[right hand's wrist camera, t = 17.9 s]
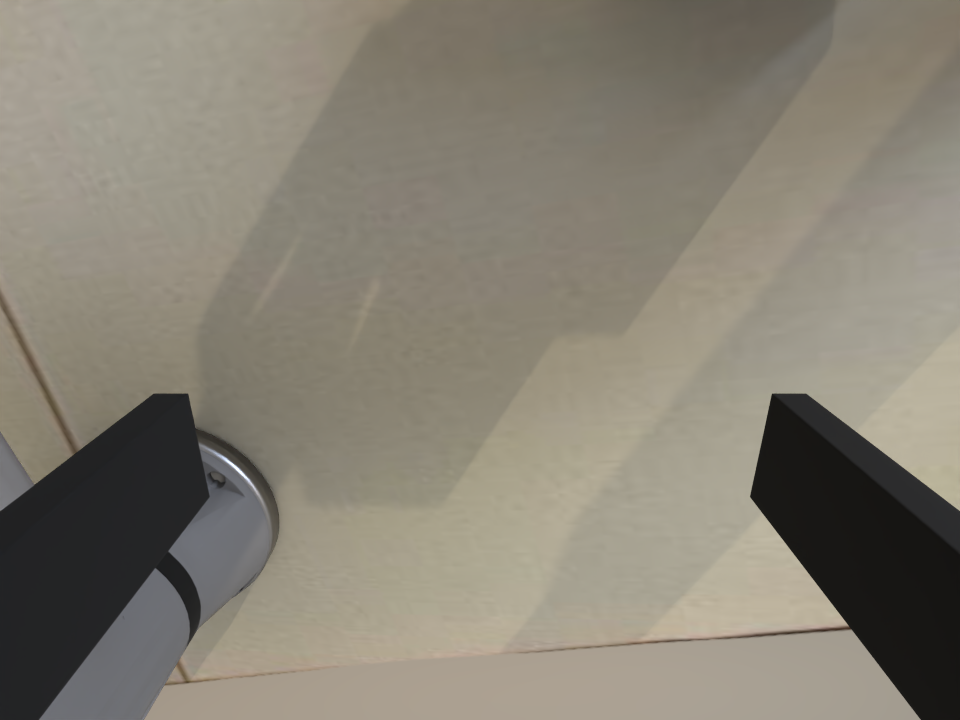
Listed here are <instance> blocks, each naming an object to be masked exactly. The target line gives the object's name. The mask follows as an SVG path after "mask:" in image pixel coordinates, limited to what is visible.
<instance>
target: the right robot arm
mask: <svg viewBox="0 0 960 720" xmlns="http://www.w3.org/2000/svg"><path fill="white" fill-rule="evenodd" d="M750 497H751V499H752V500H753V501H754V503H755V504H756V505H757V507H758V508H759V509H760V510H761V512H762V513H763V514H764V516H765V517H766V518H767V520H768V521H769V522H770V523H771V525H772V526H773V527H774V529H775V530H776V531H777V533H778V534H779V535H780V537H781V538H782V539H783V540H784V542H785V543H786V544H787V546H788V547H789V548H790V550H791V551H792V552H793V553H794V555H795V556H796V557H797V559H798V560H799V561H800V563H801V564H802V565H803V567H804V568H805V569H806V570H807V572H808V573H809V574H810V576H811V577H812V578H813V580H814V581H815V582H816V584H817V585H818V586H819V587H820V589H821V590H822V591H823V593H824V594H825V595H826V597H827V598H828V599H829V600H830V602H831V603H832V604H833V606H834V607H835V608H836V610H837V611H838V612H839V614H840V615H841V616H842V617H843V619H844V620H845V621H846V623H847V624H848V625H849V627H850V628H851V629H852V630H853V632H854V633H855V634H856V636H857V637H858V638H859V640H860V641H861V642H862V644H863V645H864V646H865V647H866V649H867V650H868V651H869V653H870V654H871V655H872V657H873V658H874V659H875V660H876V662H877V663H878V664H879V666H880V667H881V668H882V670H883V671H884V672H885V674H886V675H887V676H888V677H889V679H890V680H891V681H892V683H893V684H894V685H895V687H896V688H897V689H898V691H899V692H900V693H901V694H902V696H903V697H904V698H905V700H906V701H907V702H908V704H909V705H910V706H911V707H912V709H913V710H914V711H915V713H916V714H917V715H918V717H919V718H920V719H921V720H960V511H959V510H958V509H956V508H955V507H954V506H952V505H951V504H950V503H948V502H947V501H946V500H944V499H943V498H942V497H941V496H939V495H938V494H937V493H935V492H934V491H933V490H931V489H930V488H929V487H927V486H926V485H925V484H924V483H922V482H921V481H920V480H918V479H917V478H916V477H914V476H913V475H912V474H910V473H909V472H908V471H907V470H905V469H904V468H903V467H901V466H900V465H899V464H897V463H896V462H895V461H893V460H892V459H891V458H890V457H888V456H887V455H886V454H884V453H883V452H882V451H880V450H879V449H878V448H876V447H875V446H874V445H873V444H871V443H870V442H869V441H867V440H866V439H865V438H863V437H862V436H861V435H859V434H858V433H857V432H856V431H854V430H853V429H852V428H850V427H849V426H848V425H846V424H845V423H844V422H842V421H841V420H840V419H839V418H837V417H836V416H835V415H833V414H832V413H831V412H829V411H828V410H827V409H825V408H824V407H823V406H822V405H820V404H819V403H818V402H816V401H815V400H814V399H812V398H811V397H810V396H808V395H807V394H772V396H771V401H770V406H769V410H768V415H767V420H766V425H765V429H764V434H763V439H762V443H761V448H760V453H759V457H758V462H757V467H756V472H755V476H754V481H753V486H752V490H751V495H750ZM278 532H279V514H278V509H277V505H276V502H275V498H274V496H273V494H272V491H271V489H270V487H269V486H268V484H267V482H266V481H265V479H264V478H263V476H262V475H261V473H260V472H259V471H258V470H257V469H256V467H255V466H254V465H253V464H252V463H251V462H250V461H249V460H248V459H247V458H246V457H245V456H243V455H242V454H241V453H240V452H239V451H237V450H236V449H234V448H233V447H232V446H230V445H229V444H227V443H225V442H224V441H222V440H220V439H218V438H216V437H214V436H212V435H210V434H208V433H205V432H203V431H200V430H197V429H195V425H194V420H193V415H192V410H191V406H190V401H189V396H188V394H153V395H152V396H150V397H149V398H148V399H146V400H145V401H144V402H142V403H141V404H140V405H138V406H137V407H136V408H135V409H133V410H132V411H131V412H129V413H128V414H127V415H125V416H124V417H123V418H121V419H120V420H119V421H118V422H116V423H115V424H114V425H112V426H111V427H110V428H108V429H107V430H106V431H104V432H103V433H102V434H101V435H99V436H98V437H97V438H95V439H94V440H93V441H91V442H90V443H89V444H87V445H86V446H85V447H84V448H82V449H81V450H80V451H78V452H77V453H76V454H74V455H73V456H72V457H70V458H69V459H68V460H67V461H65V462H64V463H63V464H61V465H60V466H59V467H57V468H56V469H55V470H53V471H52V472H51V473H50V474H48V475H47V476H46V477H44V478H43V479H42V480H40V481H39V482H38V483H36V484H35V485H34V484H33V482H32V480H31V479H30V477H29V476H28V474H27V473H26V471H25V469H24V468H23V466H22V465H21V463H20V462H19V460H18V459H17V457H16V455H15V454H14V452H13V451H12V449H11V448H10V446H9V445H8V443H7V441H6V440H5V438H4V437H3V435H2V434H1V432H0V720H144V719H145V717H146V715H147V714H148V712H149V710H150V708H151V707H152V705H153V703H154V702H155V700H156V698H157V697H158V695H159V693H160V691H161V690H162V688H163V686H164V685H165V683H166V681H167V680H168V678H169V676H170V675H171V673H172V671H173V669H174V668H175V666H176V664H177V663H178V661H179V659H180V658H181V656H182V654H183V652H184V651H185V649H186V647H187V646H188V644H189V643H190V641H191V639H192V638H193V636H194V634H195V633H196V631H197V630H198V628H199V627H200V626H201V625H202V624H204V623H205V622H206V621H207V620H208V619H209V618H210V617H211V616H212V615H214V614H215V613H216V612H217V611H218V610H219V609H220V608H221V607H222V606H224V605H225V604H226V603H227V602H228V601H229V600H230V599H231V598H233V597H235V596H236V595H237V594H239V593H240V592H241V591H243V590H244V589H245V588H247V587H248V586H249V585H250V584H251V583H252V582H253V581H254V580H255V579H256V578H257V577H258V576H259V574H260V573H261V571H262V570H263V568H264V566H265V564H266V562H267V561H268V559H269V557H270V555H271V553H272V551H273V549H274V547H275V545H276V541H277V538H278Z"/></svg>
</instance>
